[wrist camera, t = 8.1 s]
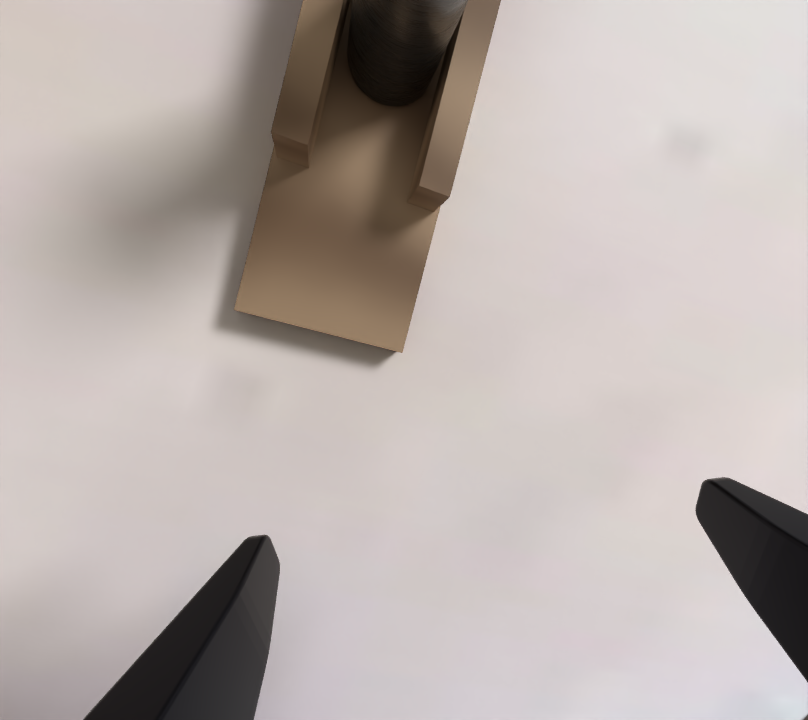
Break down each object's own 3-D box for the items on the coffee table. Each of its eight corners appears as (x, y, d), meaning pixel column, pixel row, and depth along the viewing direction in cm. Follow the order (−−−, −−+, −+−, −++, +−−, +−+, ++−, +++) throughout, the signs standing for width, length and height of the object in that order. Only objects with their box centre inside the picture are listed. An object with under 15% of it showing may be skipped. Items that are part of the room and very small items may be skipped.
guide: (397, 351, 17) (413, 356, 15) (239, 310, 16) (221, 307, 13) (507, -76, 17) (548, -160, 14) (354, -162, 15) (363, -277, 12)
